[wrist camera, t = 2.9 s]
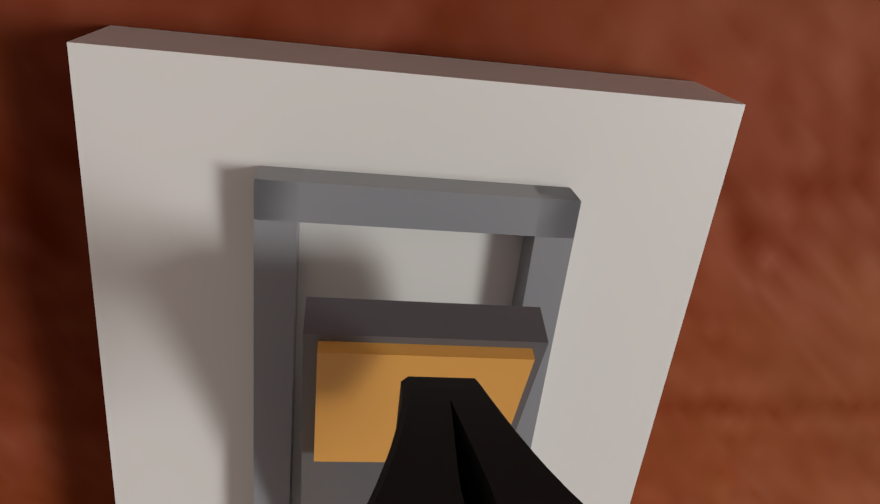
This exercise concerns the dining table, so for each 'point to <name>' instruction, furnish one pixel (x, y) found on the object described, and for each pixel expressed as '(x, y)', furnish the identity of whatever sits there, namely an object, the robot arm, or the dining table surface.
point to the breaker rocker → (398, 377)
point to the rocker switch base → (376, 238)
